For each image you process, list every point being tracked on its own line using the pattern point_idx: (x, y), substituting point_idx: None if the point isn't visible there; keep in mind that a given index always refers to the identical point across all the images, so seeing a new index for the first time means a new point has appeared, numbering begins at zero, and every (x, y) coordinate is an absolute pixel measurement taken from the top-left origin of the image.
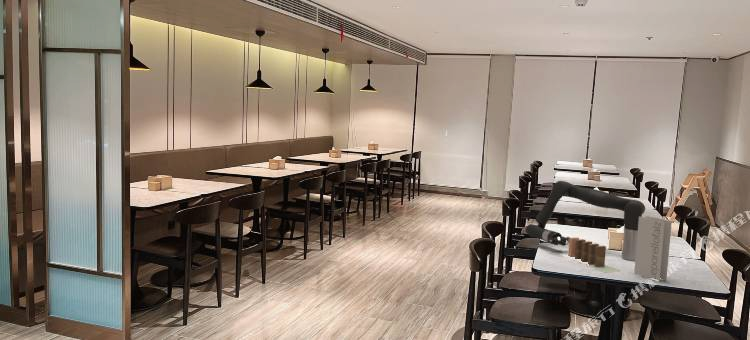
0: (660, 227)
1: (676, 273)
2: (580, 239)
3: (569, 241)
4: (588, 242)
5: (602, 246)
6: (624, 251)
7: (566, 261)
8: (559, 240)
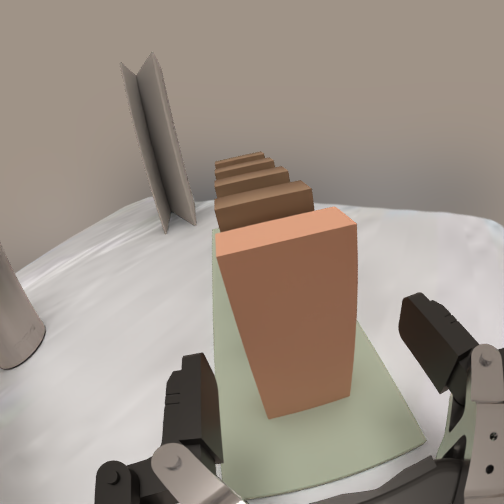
0: (163, 80)
1: (90, 245)
2: (252, 200)
3: (356, 270)
4: (249, 173)
5: (233, 158)
6: (20, 314)
7: (394, 312)
8: (482, 345)
